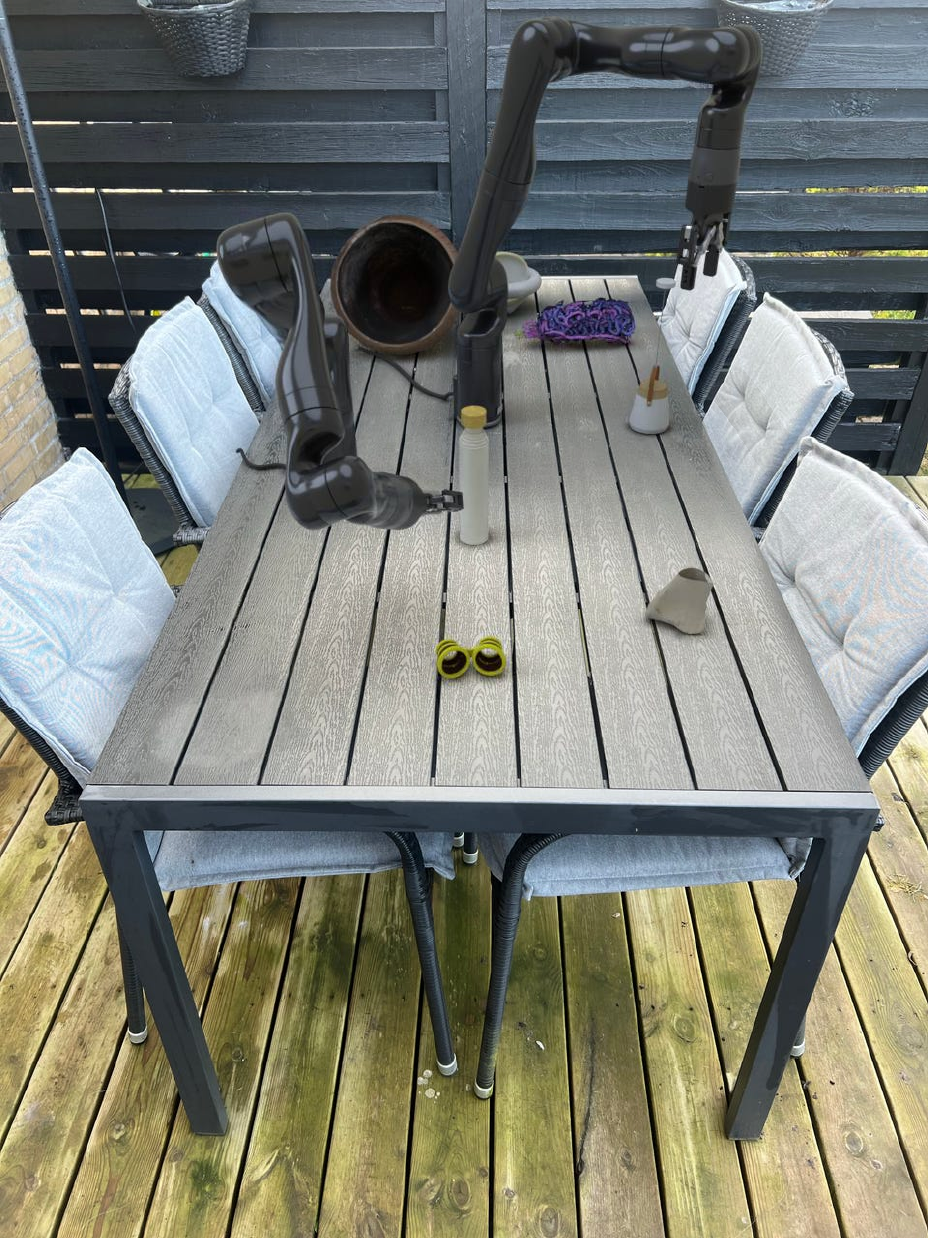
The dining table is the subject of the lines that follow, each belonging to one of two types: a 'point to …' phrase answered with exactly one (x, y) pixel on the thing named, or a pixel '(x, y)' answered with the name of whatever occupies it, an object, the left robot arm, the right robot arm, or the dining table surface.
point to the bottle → (474, 485)
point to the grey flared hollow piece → (683, 601)
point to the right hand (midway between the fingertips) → (698, 282)
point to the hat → (518, 279)
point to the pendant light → (652, 393)
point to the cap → (473, 417)
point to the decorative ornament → (582, 322)
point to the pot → (395, 284)
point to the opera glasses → (462, 658)
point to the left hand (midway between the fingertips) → (429, 507)
